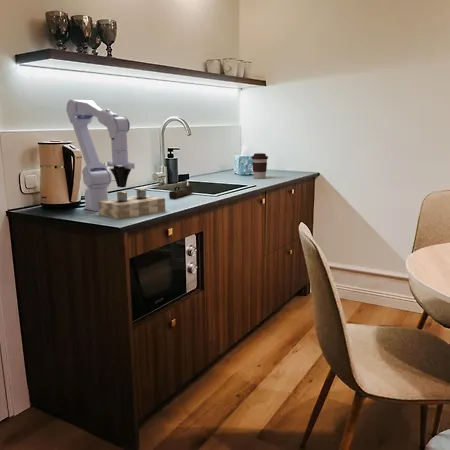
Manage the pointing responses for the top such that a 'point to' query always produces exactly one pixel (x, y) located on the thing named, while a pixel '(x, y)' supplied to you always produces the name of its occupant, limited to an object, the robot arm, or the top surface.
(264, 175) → the coffee cup
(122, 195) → the near peg
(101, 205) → the twin-bore block
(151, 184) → the top surface
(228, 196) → the top surface
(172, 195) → the hand tool
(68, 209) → the top surface
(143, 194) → the far peg
